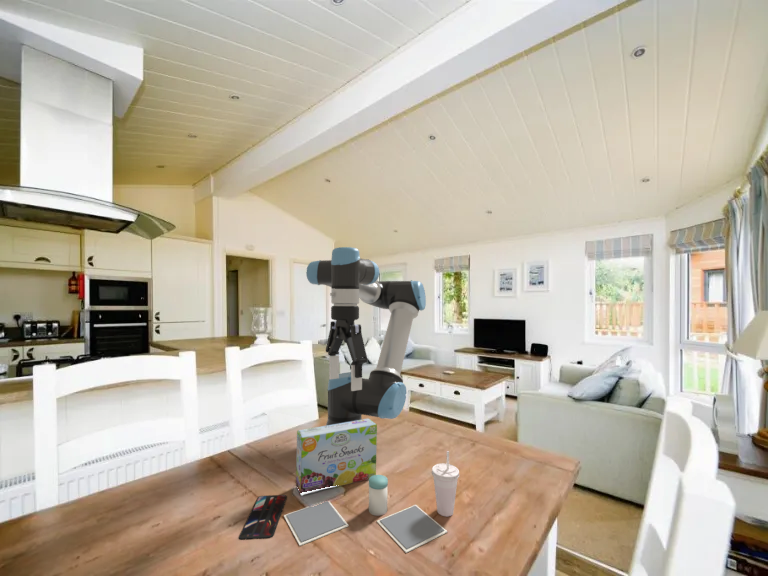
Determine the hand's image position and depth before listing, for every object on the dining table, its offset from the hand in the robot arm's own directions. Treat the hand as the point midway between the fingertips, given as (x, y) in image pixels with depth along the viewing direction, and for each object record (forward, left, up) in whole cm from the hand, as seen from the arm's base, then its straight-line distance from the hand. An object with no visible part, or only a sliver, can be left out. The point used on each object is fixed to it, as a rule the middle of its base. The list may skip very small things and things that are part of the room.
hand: (344, 384), depth 92 cm
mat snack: (+10, -12, -27) cm, 31 cm away
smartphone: (+2, -21, -27) cm, 34 cm away
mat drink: (+23, +5, -27) cm, 36 cm away
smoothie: (+23, +15, -27) cm, 38 cm away
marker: (+14, +2, -27) cm, 30 cm away
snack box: (-2, -1, -27) cm, 27 cm away
